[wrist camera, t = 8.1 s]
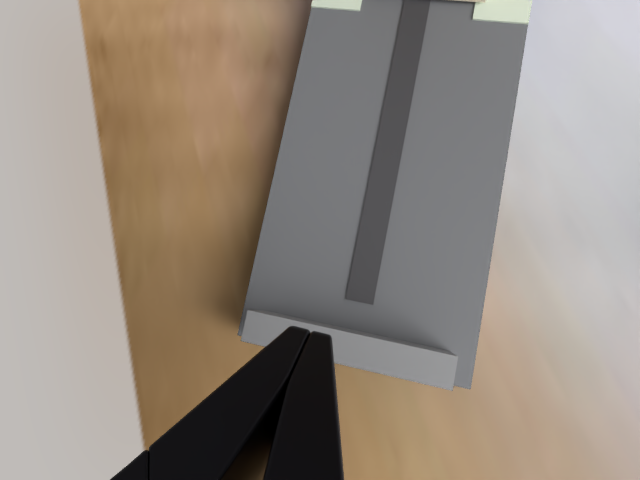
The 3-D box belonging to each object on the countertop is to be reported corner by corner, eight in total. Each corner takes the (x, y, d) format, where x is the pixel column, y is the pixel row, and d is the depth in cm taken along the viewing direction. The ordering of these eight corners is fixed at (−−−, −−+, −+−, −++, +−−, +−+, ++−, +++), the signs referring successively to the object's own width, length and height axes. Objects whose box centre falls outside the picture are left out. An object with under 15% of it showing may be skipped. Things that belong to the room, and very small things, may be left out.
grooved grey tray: (463, 382, 20) (481, 400, 16) (251, 333, 22) (216, 337, 18) (533, -59, 23) (565, -147, 18) (340, -68, 25) (328, -148, 20)
